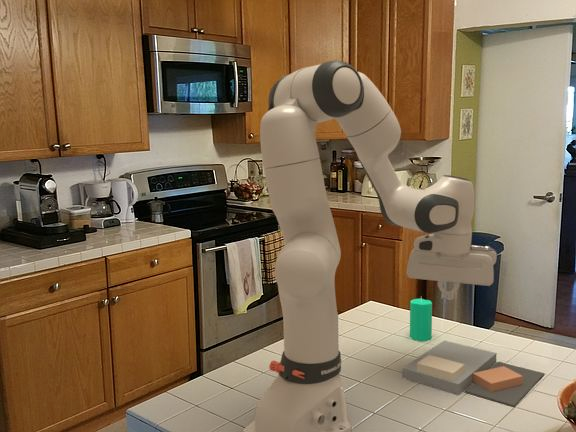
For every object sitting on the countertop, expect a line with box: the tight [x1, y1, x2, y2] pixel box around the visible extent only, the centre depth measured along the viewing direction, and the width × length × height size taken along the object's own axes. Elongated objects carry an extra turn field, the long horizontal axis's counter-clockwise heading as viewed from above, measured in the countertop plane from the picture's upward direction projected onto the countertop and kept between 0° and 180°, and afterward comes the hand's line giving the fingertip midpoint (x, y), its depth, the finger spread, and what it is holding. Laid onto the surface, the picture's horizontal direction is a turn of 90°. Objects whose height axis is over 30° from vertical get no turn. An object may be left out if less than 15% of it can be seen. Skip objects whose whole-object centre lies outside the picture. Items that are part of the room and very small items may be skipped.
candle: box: [409, 295, 433, 342], centre depth 160 cm, size 6×6×12 cm
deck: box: [401, 340, 498, 396], centre depth 139 cm, size 22×14×2 cm, turn 139°
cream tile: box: [417, 355, 465, 381], centre depth 132 cm, size 9×6×2 cm, turn 49°
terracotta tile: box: [473, 366, 523, 392], centre depth 131 cm, size 9×6×2 cm, turn 112°
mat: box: [463, 361, 545, 408], centre depth 131 cm, size 20×11×1 cm, turn 139°
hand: (447, 299), depth 139 cm, fingers closed
